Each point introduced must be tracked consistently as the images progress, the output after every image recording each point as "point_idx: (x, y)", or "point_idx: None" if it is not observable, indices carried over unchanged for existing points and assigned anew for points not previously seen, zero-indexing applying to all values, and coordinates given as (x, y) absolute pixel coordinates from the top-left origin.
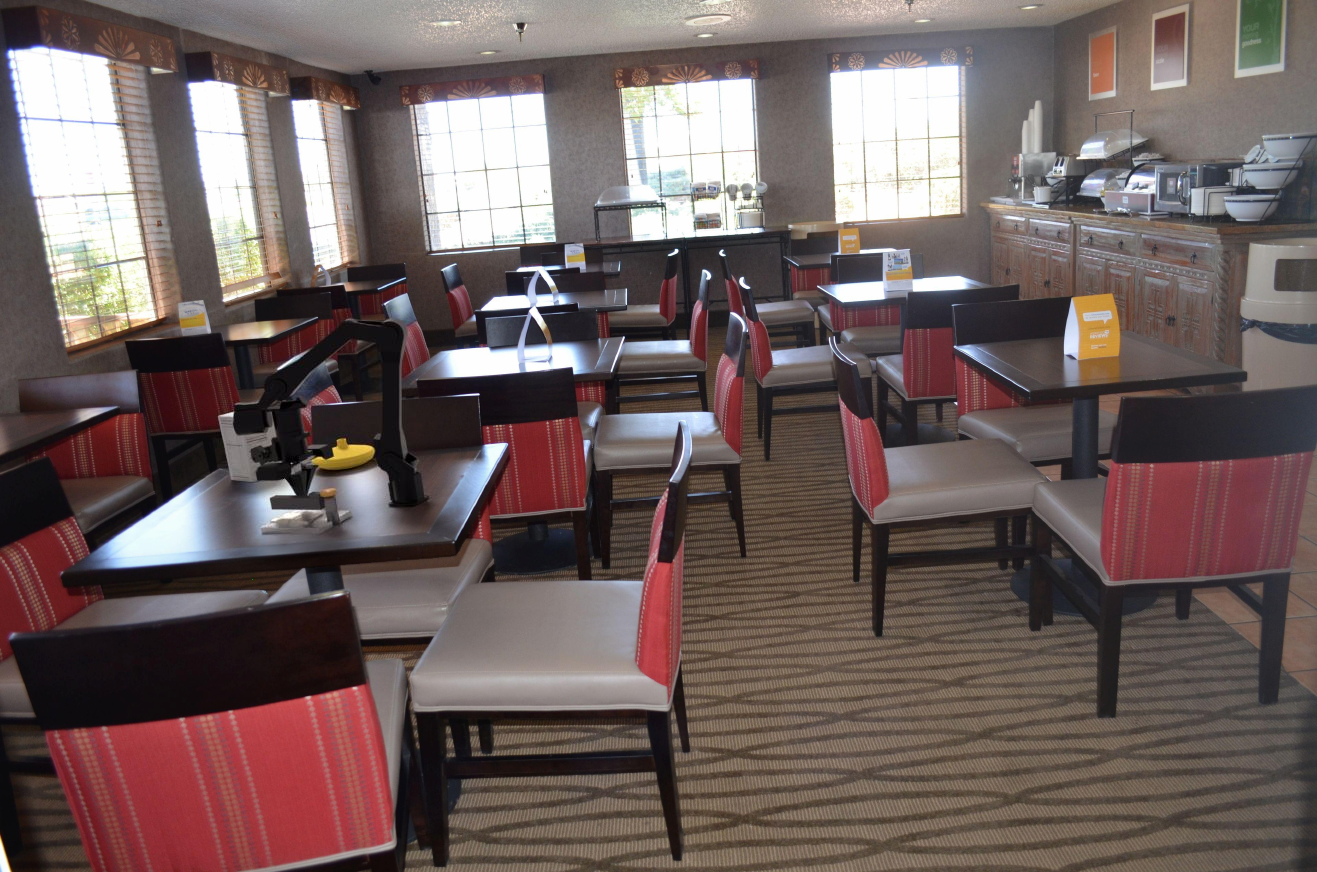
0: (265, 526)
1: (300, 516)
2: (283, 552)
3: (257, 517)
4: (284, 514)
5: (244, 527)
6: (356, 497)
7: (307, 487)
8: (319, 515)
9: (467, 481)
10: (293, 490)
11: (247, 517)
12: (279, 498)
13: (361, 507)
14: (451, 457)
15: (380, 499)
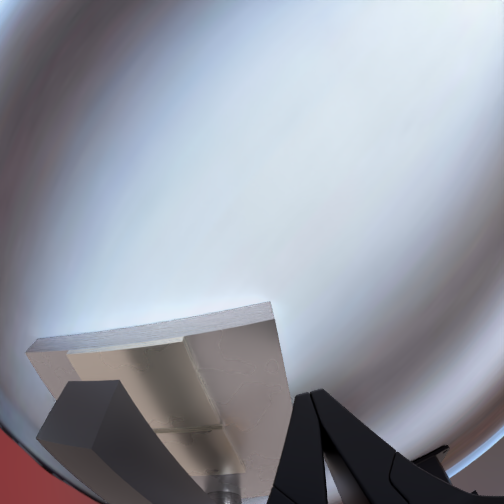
0: (40, 366)
1: (181, 437)
2: (52, 465)
3: (169, 62)
4: (162, 353)
5: (29, 173)
6: (489, 337)
7: (340, 494)
8: (225, 473)
9: (498, 434)
10: (278, 467)
11: (157, 7)
12: (87, 483)
13: (387, 439)
14: None
15: (450, 417)
